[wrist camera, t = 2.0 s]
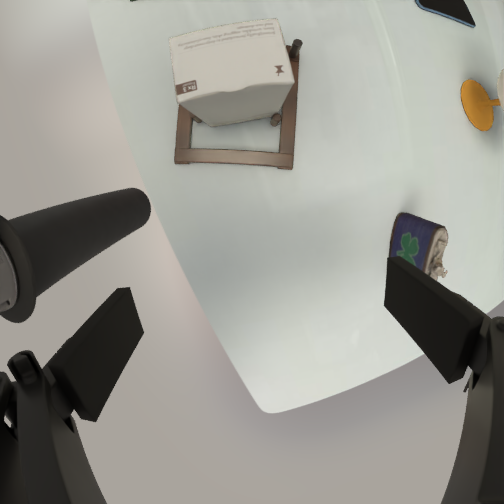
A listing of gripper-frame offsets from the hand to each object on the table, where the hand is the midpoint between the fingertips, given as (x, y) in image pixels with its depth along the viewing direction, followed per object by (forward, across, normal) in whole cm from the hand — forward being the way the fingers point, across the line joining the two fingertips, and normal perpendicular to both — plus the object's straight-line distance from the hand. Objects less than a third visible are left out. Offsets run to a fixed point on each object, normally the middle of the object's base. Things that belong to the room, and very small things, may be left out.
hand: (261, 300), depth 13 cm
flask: (+21, +20, -5) cm, 29 cm away
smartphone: (+21, +38, +37) cm, 57 cm away
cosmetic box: (+21, 0, +15) cm, 26 cm away
